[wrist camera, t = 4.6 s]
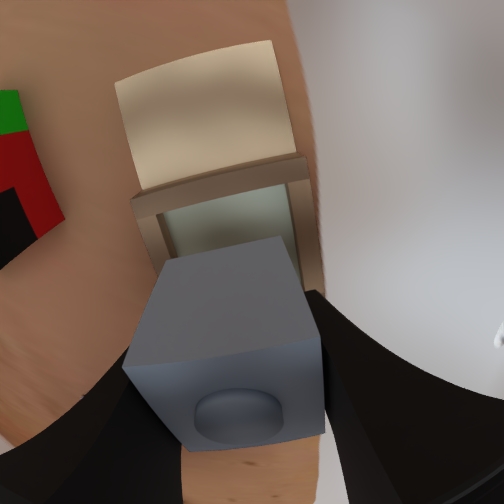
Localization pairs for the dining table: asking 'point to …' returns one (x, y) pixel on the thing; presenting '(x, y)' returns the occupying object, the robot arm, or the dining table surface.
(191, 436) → the stud block
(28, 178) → the puzzle toy
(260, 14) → the dining table surface
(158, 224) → the socket block
